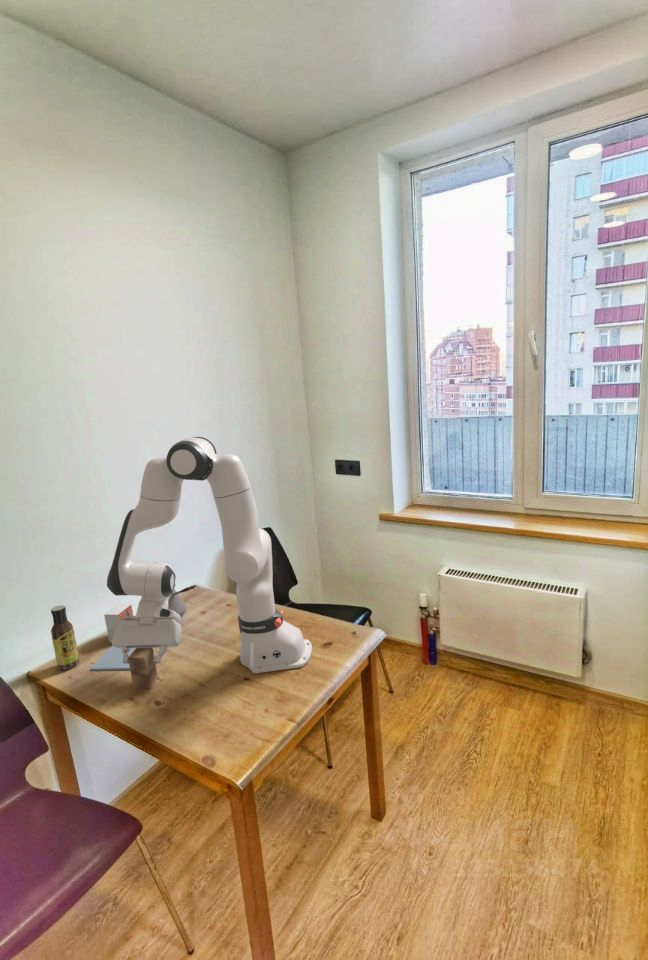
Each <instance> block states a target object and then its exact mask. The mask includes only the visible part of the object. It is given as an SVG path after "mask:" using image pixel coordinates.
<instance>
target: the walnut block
mask: <svg viewBox="0 0 648 960" xmlns="http://www.w3.org/2000/svg"><path fill="white" fill-rule="evenodd" d="M154 656H155V654H154V648H136V649H135V650H134V651H133V653H132V654H131V655H130V656H129V657H128V661H129V666H130V670H129V671H130V675H131V676H130V677H131V680H132V686H133V690H150V689H152V687H153V686H154V684H155V683H156V682H157V680H158V678H159V675H158V670H157V663H154V662H153V660H154Z"/></svg>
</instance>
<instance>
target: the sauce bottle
mask: <svg viewBox="0 0 648 960" xmlns="http://www.w3.org/2000/svg"><path fill="white" fill-rule="evenodd" d="M66 610H67V608H66V606H65V605H62V604H61V605H56V606H54V607H52V608H51V609H50V613H51V616H52V619H53V620H52V622H53V624H52V627H51V630H50V633H51V640H52V644H53V645H52V646H53V650H54V656H55V660H56V661H55V662H56V665H57V669H58V670H60V671H65V670H70V669H72V668H75V667H77V665H78V664H79V663H80V660H79V651H78V647H77V641H76V636H75V630H74V625H73V624H72V623H71V622H70V621H69V620H68V617H67V611H66Z"/></svg>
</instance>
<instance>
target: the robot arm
mask: <svg viewBox="0 0 648 960" xmlns="http://www.w3.org/2000/svg"><path fill="white" fill-rule="evenodd" d="M184 480H187V481H203V482H204V481H207V482H208V483H209V485H210V489H211V492H212V495H213V496H212V497H213V500H214V503H215V507H216V510H217V514H218V517H219V521H220V526H221V535H222V543H223V544H222V545H223V550H224V570H225V573H226V575H227V576H228V578H229V579H230V580H232V581H233V582H235V583H236V589H235V590H236V591H235V594H236V603H237V610H238V615H237V618H238V619H237V621H238V630H239V632H240V637H241V638H240V639H241V640H240V641H241V642H240V643H241V644H240V646H241V647H240V655H239V662H240V664H242V665H243V666H244V667H246V668H248V669H249V671H250V672H251V673H253V674H260V673H267V672H276V671H283V670H288V669H289V670H290V669H297V668H302V667H305V666H306V664H308V662H309V661H310V660H311V657H312V654H313V646H312V642H311V641H310V640H309V639H304V635H303V632H302V631H301V629H300V628H299V627H296V626H294V625H292V624H291V623H289V622H287V621H286V620H284V616H283V615H284V612H283V609H281V610H280V611H279V610H278V609H277V608H276V604H275V596H274V594H275V593H274V588H273V586H274V584H273V582H274V581H273V580H274V579H273V575H274V573H273V550H272V548H273V547H272V538H271V536H270V534H269V533H268V532H267V531H266V530H264V529H263V528H262V527H261V528H260V527H259V511H258V507H257V504H256V501H255V497H254V496H255V495H254V493H253V489H252V485H251V482H250V479H249V476H248V474H247V471H246V468H245V466H244V464H243V462H242V461H241V458H239V456H237V455H235V454H233V453H223V454H217V449H216V447H215V444H213V443H212V442H211V440H209V439H207V438H205V437H201V436H194V437H193V436H192V437H188V438H185V439H181V440H180V441H178V442H175V443H174V444H173V445H172V446H171V447H170V449H169V450H168V451H167V454H166V457H157V458H156V457H155V458H152V459H150V460H149V461H148V462H147V463H146V465H145V467H144V470H143V475H142V479H141V484H140V491H139V492H140V494H139V501H138V503H137V505H136V507H135V508H134V509H131V510H129V511H128V513H127V514H126V516H125V518H124V520H123V524H122V527H121V529H120V534H119V537H118V541H117V545H116V549H115V551H114V556H113V560H112V563H111V566H110V569H109V571H108V573H107V577H106V586H107V589H108V590H109V591H110V592H111V593H112V594H113V595H114V596H137V597H139V596H140V597H141V598H140V600H139V601H138V606H137V610H136V614H135V615H133V616H129V617H128V616H125V617H123V618H121V619H120V620H119V621H118V623H117V628H116V630H115V633H114V635H113V638H112V642H111V645H112V646H114V647H116V648H122V650H121V651H122V654H123V656H124V657H123V663H124V664H129V661H128V657H129V656H128V653H127V652H129V650H130V648H153V649H154V648H159V650H160V651H159V652H158V653H157V655H154V660H153V662H154V663H155V664H161V662H162V658H163V657H164V655H165V654H166V653H167V651H168V648H177V647H178V646H180V645H181V641H182V640H181V639H182V633H183V632H182V631H183V630H182V625H181V622H182V620H183V618H182V617H181V616H180V615H179V614H177V613H176V612H174V611H173V610H169V609H168V600H169V597H170V595H171V594H172V593H173V590H174V589H175V587H174V584H176V574H175V572H174V568H173V567H172V565H171V564H169V563H167V562H163V561H156V562H153V563H152V562H151V563H149V562H136V561H132V560H131V555H132V551H133V548H134V545H135V544H134V543H135V541H136V536H137V535H138V534H140V533H143V532H145V531H148V530H152V529H156V528H160V527H163V526H165V525H167V524H169V523H170V522H172V521H173V520H174V519H175V518H176V517H177V515H178V514H179V510H180V503H181V493H182V487H183V486H182V485H183V483H184ZM122 619H123V620H122Z"/></svg>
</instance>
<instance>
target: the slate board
mask: <svg viewBox="0 0 648 960" xmlns="http://www.w3.org/2000/svg"><path fill="white" fill-rule="evenodd" d="M135 649H136V648H130V650H129V652H127V653H128V656H130V655H131V654H132V653H133V651H134V650H135ZM121 650H122V648H116V647H114V646H113V645H112V646H111V647H109V648H108V650H106V651H105V653H104V654H102V655H101V657H100V658H99V659H98V660H97V661H96V662H95V663H94V664H93V665H92V666H91V667H90V668H89V671H122V670H123V671H124V670H125V671H127V670H128V671H130V666H129V664H124V663H123V657H124V656H123V654H122V651H121Z"/></svg>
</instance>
